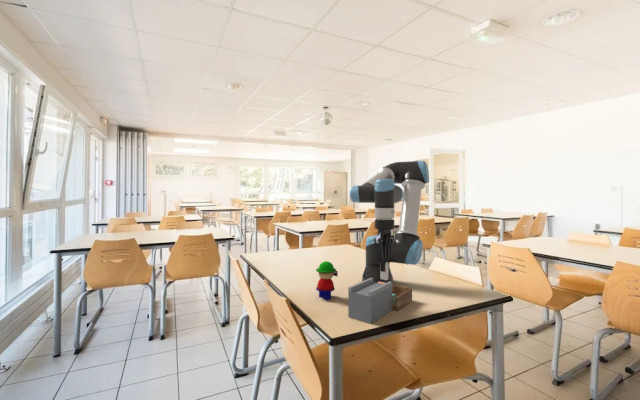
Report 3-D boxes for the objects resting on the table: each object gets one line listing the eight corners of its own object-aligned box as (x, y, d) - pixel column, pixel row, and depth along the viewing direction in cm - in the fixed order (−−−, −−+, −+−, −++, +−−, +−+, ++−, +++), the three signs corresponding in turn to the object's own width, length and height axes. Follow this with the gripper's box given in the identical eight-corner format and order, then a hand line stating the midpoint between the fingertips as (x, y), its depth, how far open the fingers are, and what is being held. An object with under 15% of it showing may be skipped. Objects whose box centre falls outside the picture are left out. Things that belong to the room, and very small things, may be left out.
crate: (366, 303, 120) (366, 290, 120) (382, 294, 131) (382, 282, 131) (397, 311, 112) (397, 297, 112) (412, 300, 123) (412, 288, 123)
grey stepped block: (348, 317, 106) (348, 287, 106) (370, 304, 119) (370, 277, 119) (371, 323, 101) (371, 292, 101) (392, 309, 113) (392, 281, 113)
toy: (312, 295, 130) (312, 260, 130) (329, 292, 134) (329, 258, 133) (321, 301, 122) (321, 264, 122) (339, 298, 125) (340, 262, 125)
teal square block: (384, 291, 124) (384, 298, 124) (378, 294, 120) (378, 302, 120) (396, 294, 120) (396, 301, 121) (390, 297, 117) (390, 305, 117)
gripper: (385, 220, 110) (385, 284, 110) (400, 218, 120) (400, 277, 121) (367, 219, 115) (367, 281, 115) (383, 217, 125) (383, 274, 125)
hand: (384, 279), depth 118 cm, fingers closed
